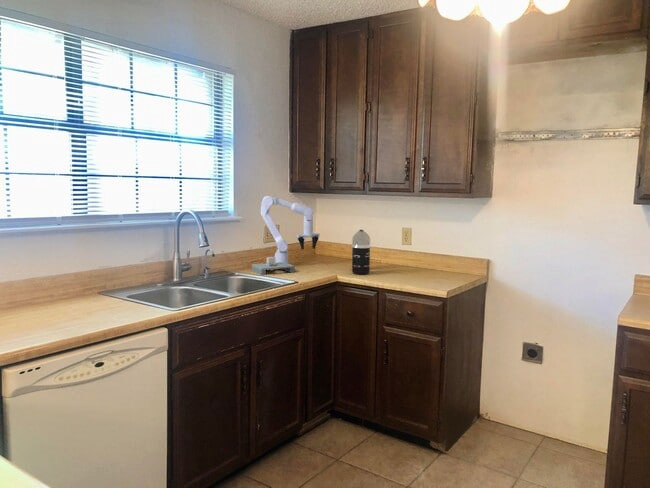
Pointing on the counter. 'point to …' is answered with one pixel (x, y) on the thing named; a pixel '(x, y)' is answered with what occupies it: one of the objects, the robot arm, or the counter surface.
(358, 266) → the black and grey bottle
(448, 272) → the counter surface
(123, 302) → the counter surface
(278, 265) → the keyhole plate
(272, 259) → the peg
